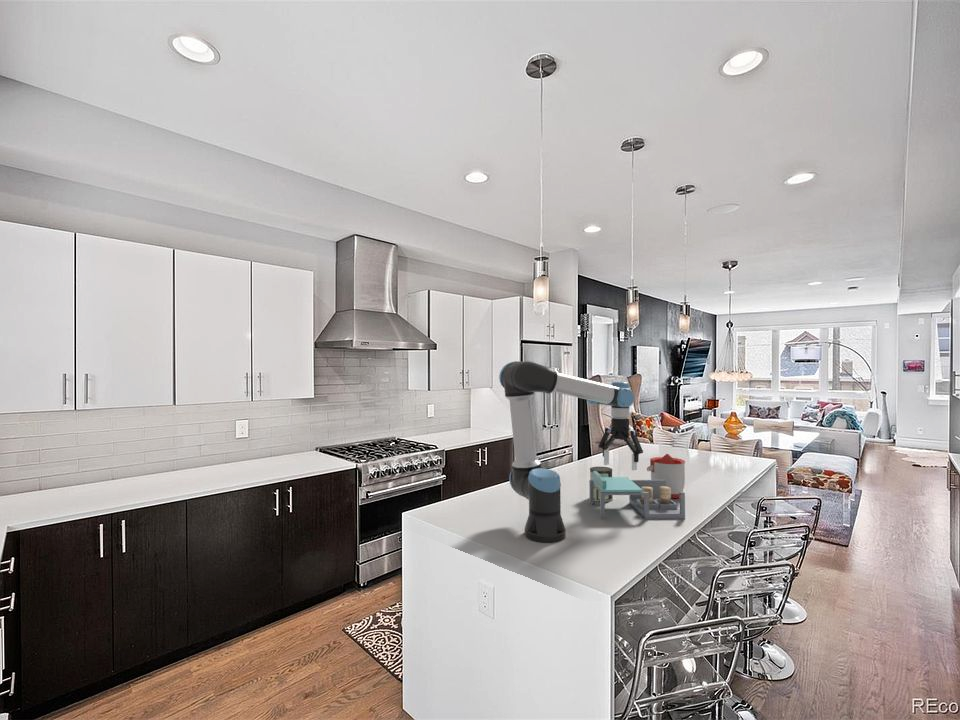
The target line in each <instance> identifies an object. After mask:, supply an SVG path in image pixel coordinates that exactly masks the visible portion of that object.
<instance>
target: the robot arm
mask: <svg viewBox="0 0 960 720" xmlns="http://www.w3.org/2000/svg"><path fill="white" fill-rule="evenodd" d="M498 377H499V383H500V385H501V386H502V387H503V389H504V397H505V398H506V399H507V400H508V401H509V408H510V420H511V428H512V440H513V449H514V450H513V451H514V458H515V459H514V461H513V462H512V463H511V468H512V469H511V471H510V473H509V479H508V480H509V484H510V487H511V489H512V490H513V491H514V492H515V493H516V494H518V496H520V497H523V498H526V500H528V516H527V520H526V523H525V526H524V536H525V537H526V538H527V539H529V540H531V541H535V542H540V543H555V542H560V541H563V540H564V539H566V536H567V535H566V534H567V533H566V527H565V523H564V521H563V518H562V513H561V512H562V511H561V502H562V501H561V500H562V499H561V487H562V486H561V485H562V484H561V478H560V474H559V473H558V472H557V471H555V470H553V469H548V468H542V462H541V460H539V459H538V456H537V448H536V447H537V446H536V438H535V428H534V417H533V416H534V415H533V408H532V407H533V406H532V398H533V396H535V393H542V394H543V393H544V394H553V393H557V394H561V395H565V396H571V397H575V398H578V399H582V400H586V402H587V403H588V404H590V405H595V406H597V405H601V406H602V405H603V406H610V407H611V408H610V409H611V410H610V411H611V413H610V415H611V418H610V419H611V420H610V423H611V424H610V425H611V427H605V428H604V433H603V436H602V437H601V440H600V442H599V444H598V448H601V450H602V458H603V466H607V465H610V449H609V447H610V446H611V445H612V443H614V441H615V440H620V441H624V442H625V443H626V444H627V446H628V447H629V449H630V451H631V452H632V454H631V471H636V470H638V463H639V458H640V457H639V456H640V455H641V454H643V453H644V450H643V447H642V446H641V443H640V440H639V439H638V436H637V431H636V430H635V429H634V430H630V407H631V406H632V405H633V404H634V401H635V394H634V392H633V390H632V389H631V388H630V384H629V382H627V381H612V382H611V384H606V383H603V382H599V381H595V380H590V379H587V378H581V377H578V376H573V375H569V374H565V373H562V372H558V371H557V369H556V368H552V367H550V366H546V365H542V364H539V363H537V362H533V361H529V360H528V361H527V360H526V361H519V360H518V361H511V362H508V363H506V364H505V365H504V366H503V367H502V368H501V370H500V372H499V375H498ZM610 434H611V435H610Z"/></svg>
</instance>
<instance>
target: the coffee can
mask: <svg viewBox="0 0 960 720" xmlns="http://www.w3.org/2000/svg"><path fill="white" fill-rule="evenodd" d="M589 470H590V471H589V480H592V477H593V471H597V472H598V473H599V474H600V475H601V476H602V477H613V468H611V467H607V466H593V467H589ZM593 489H594V502H599V503H600V492H602V490H601V489H600V488H599V487H598V486H597V485H596V484H595V483H593ZM613 496H614V495H605V502H606V503H607V502H611V501H613V499H614V497H613Z"/></svg>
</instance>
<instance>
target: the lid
mask: <svg viewBox="0 0 960 720" xmlns="http://www.w3.org/2000/svg"><path fill="white" fill-rule="evenodd" d="M592 480H593V482H594V483H595V484H596V485H597V486H598V487H599V488H600V489H601V490H602V492H643V490H642V489H641V488H640V487H639V486H637V485H636V484H635V483H634V482H632V481H631V480H632V479H630V478H629V477H628V476H612V477H602V476H601V475H600V474H599V473H598V472H597V471H593V477H592Z"/></svg>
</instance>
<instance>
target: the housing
mask: <svg viewBox="0 0 960 720" xmlns="http://www.w3.org/2000/svg"><path fill="white" fill-rule="evenodd" d="M630 480H631V481H632V482H634V483H635V484H636V485H637V486H639V487H640V488H641V489H642V487H652V488H653V504H649V493H648V492H600V502H599V512H600V515H599V518H600V520H605V519H606V517H605V516H606V513H605V512H606V510H605V509H606V507H605V505H606V503H605V495H613V496H628V497H629V498H628V499H629V500H628V501H629V504H630V505H631V506H632V507H633V508H634V509H635V510H636V511H637V512H638V513H639V514H640V515H641V516H642V517H643V518H644V519H646V520H679V519H681V520H682V519H683V520H685V519H686V493H685V491H683V492H680V497H679V508H678V503H676V501H675V502H674V501H673V500H672V499H671V504H660V490H659V487H661V486H665V487H666V480H651V479H630ZM588 483H589V486H588V487H589V488H588V489H589V491H588V492H589V504H590V505H594V502H595V501H594V489H593V483H594V482H593V480H590V479H589V482H588ZM642 495H644V504H642Z"/></svg>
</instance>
